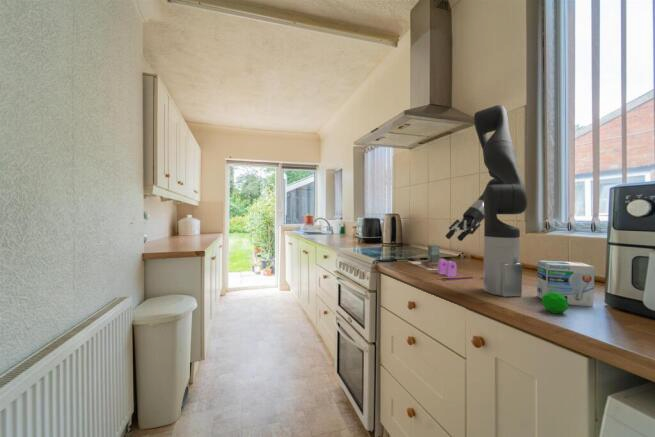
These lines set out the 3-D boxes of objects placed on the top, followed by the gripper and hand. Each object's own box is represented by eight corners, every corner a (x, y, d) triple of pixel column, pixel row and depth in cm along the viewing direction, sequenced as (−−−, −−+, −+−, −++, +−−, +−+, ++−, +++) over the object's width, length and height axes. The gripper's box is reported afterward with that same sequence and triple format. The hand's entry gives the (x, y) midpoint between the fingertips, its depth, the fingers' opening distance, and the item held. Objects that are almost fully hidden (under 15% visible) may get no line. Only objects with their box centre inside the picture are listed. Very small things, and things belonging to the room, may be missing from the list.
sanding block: (446, 268, 113) (446, 247, 112) (433, 269, 112) (433, 247, 112) (433, 264, 123) (433, 244, 122) (421, 264, 122) (421, 244, 121)
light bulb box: (546, 303, 74) (547, 263, 74) (535, 296, 81) (536, 259, 80) (595, 307, 71) (596, 266, 71) (579, 299, 77) (580, 261, 77)
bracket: (448, 280, 99) (448, 261, 99) (437, 277, 104) (437, 259, 104) (476, 278, 103) (476, 260, 103) (464, 275, 108) (464, 257, 108)
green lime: (569, 312, 67) (569, 293, 67) (566, 317, 64) (567, 297, 64) (543, 307, 71) (543, 289, 71) (539, 311, 67) (540, 292, 67)
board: (453, 272, 112) (453, 269, 112) (428, 273, 110) (428, 269, 110) (428, 263, 132) (428, 260, 132) (406, 264, 130) (406, 261, 130)
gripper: (461, 206, 126) (438, 231, 125) (483, 205, 112) (457, 233, 111) (471, 218, 127) (448, 242, 126) (494, 218, 113) (469, 246, 112)
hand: (452, 238), depth 118 cm, fingers open, 8 cm apart
